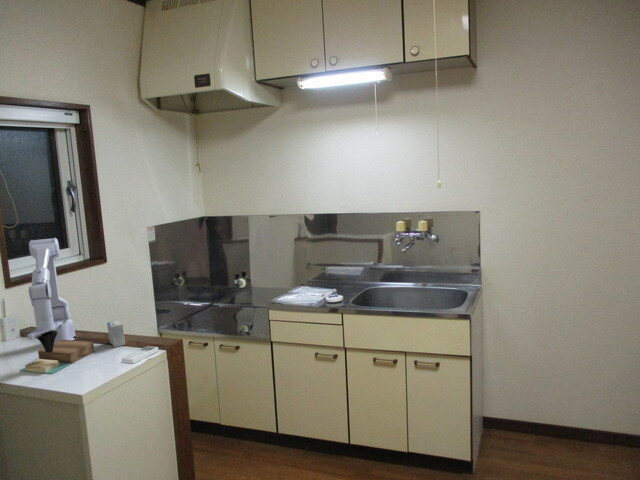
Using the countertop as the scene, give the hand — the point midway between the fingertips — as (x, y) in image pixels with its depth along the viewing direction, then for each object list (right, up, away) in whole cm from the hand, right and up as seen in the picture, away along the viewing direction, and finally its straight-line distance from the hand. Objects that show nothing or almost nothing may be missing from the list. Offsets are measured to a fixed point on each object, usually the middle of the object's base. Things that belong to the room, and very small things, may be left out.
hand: (49, 351), depth 192 cm
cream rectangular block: (-1, -3, -3) cm, 5 cm away
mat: (-1, -5, -2) cm, 6 cm away
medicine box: (+18, -1, +19) cm, 26 cm away
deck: (+3, -4, +8) cm, 9 cm away
